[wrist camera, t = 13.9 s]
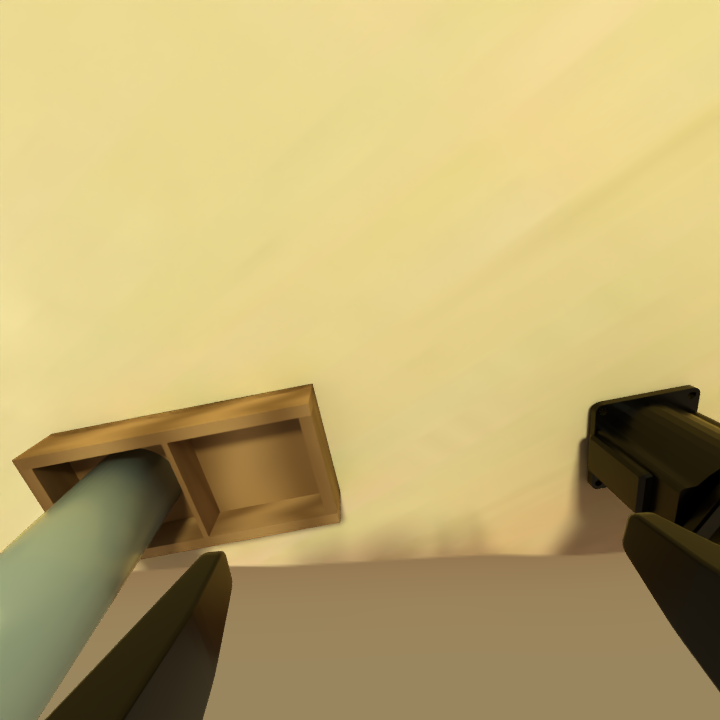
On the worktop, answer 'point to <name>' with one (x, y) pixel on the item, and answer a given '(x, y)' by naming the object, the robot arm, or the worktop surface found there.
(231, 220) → the worktop surface
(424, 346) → the worktop surface
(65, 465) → the caddy
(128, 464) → the salt shaker
